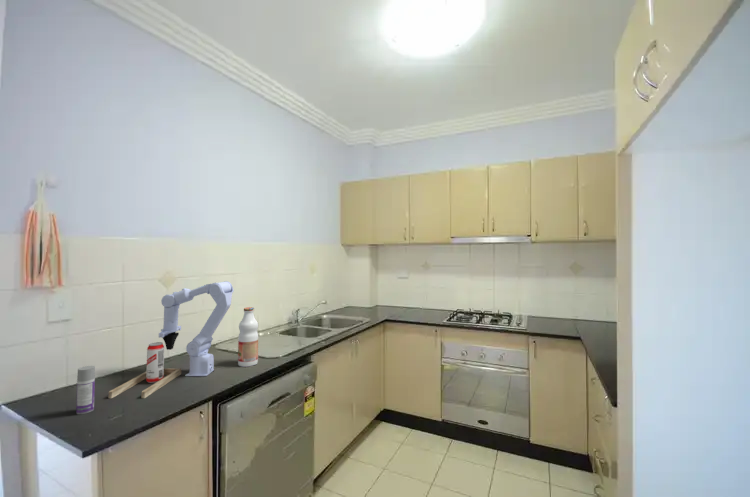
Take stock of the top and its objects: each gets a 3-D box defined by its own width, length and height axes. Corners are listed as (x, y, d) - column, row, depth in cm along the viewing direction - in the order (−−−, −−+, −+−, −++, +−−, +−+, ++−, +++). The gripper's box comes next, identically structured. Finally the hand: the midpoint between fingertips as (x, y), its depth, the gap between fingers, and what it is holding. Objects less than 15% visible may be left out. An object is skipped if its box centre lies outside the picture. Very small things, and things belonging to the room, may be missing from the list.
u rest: (181, 374, 150) (181, 368, 150) (144, 398, 125) (144, 391, 125) (151, 374, 150) (151, 368, 150) (108, 398, 125) (108, 391, 125)
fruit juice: (250, 367, 159) (251, 309, 160) (233, 366, 161) (234, 309, 162) (261, 361, 168) (262, 306, 169) (245, 360, 170) (246, 306, 171)
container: (83, 408, 117) (84, 365, 117) (97, 407, 117) (98, 365, 117) (72, 414, 112) (73, 370, 112) (87, 414, 112) (88, 370, 113)
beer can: (154, 384, 138) (155, 346, 138) (142, 383, 139) (143, 345, 140) (167, 378, 144) (167, 342, 144) (155, 377, 145) (155, 341, 146)
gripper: (171, 316, 161) (170, 344, 160) (152, 323, 146) (150, 353, 146) (186, 317, 161) (184, 344, 161) (168, 323, 146) (167, 354, 146)
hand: (169, 349), depth 153 cm, fingers closed
